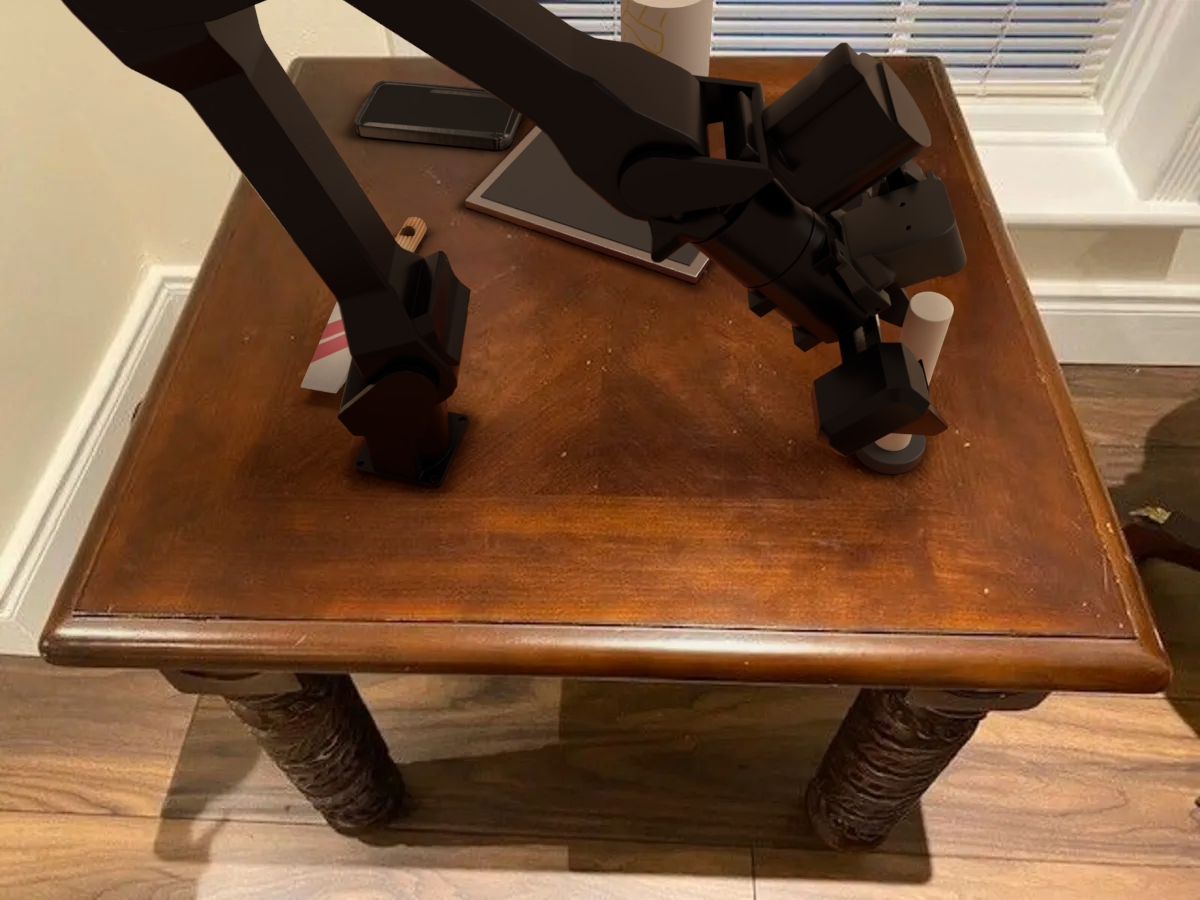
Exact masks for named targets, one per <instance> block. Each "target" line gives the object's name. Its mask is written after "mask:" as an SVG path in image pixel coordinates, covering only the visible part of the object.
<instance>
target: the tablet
mask: <svg viewBox="0 0 1200 900" xmlns="http://www.w3.org/2000/svg"><path fill="white" fill-rule="evenodd" d="M464 204H465V207H466V208H467V209H470V210H473V211H476V212H480V213H482V214H485V215H488V216H491V217H494V218H497V219H500V220H503V221H506V222H509V223H512V224H515V225H517V226H520V227H524V228H527V229H530V230H533V231H535V232H539V233H541V234H545V235H547V236H551V237H553V238H556V239H560V240H563V241H566V242H569V243H571V244H574V245H577V246H581V247H584V248H586V249H589V250H593V251H596V252H599V253H600V254H601V253H602V254H604V255H608V256H610V257H614V258H616V259H620V260H623V261H625V262H628V263H631V264H634V265H638V266H640V267H643V268H646V269H649V270H653V271H655V272H657V273H661V274H663V275H667V276H669V277H673V278H675V279H679V280H682V281H684V282H688V283H691V284H694V285H696V284H697V282H698V281H699V280H700V278H701V277H702V275H703V273H704V272H705V271H706V270H707V268H708V266H709V265H710V263H711V262H712V260H710V259H709V258H708V257H707V256H705V255H704V254H703V253H702V252H700V251H699V250H698V249H697V248H695V247H694V246H693V245H692V244H690V243H687V244H685V245H684V246H682V247H681V248H680V249H678V250H677V251H676V252H674V253H673V254H672V255H670V256H669V257H668V258H666V259H665V260H664V261H663V262H661V263H655V262H653V261H652V259H651V236H650V226H649V224H648V222H645V221H640V220H635V219H632V218H630V217H627V216H625V215H622V214H621V213H619V212H618V211H616V210H615V209H614V208H612V207H611V206H610V205H609V204H608V203H607V202H605V201H604V200H603V199H602V198H601V197H600V196H599V195H597V194H596V193H595V192H594V191H593V190H592V189H591V188H590V187H588V186H587V185H586V184H585V183H584V182H583V181H582V180H580V179H579V178H578V177H577V176H576V175H575V174H574V173H573V172H572V170H571V169H570V168H569V166H568V165H567V163H566V162H565V160H564V159H563V158H562V156H561V155H560V153H559V152H558V151H557V149H556V148H555V146H554V145H553V143H552V142H551V141H550V139H549V138H548V136H547V135H546V134H545V133H544V132H543V131H542V130H541V129H539V128H538V127H537V126H536V125H535V126H534V127H533V128H532V129H531V130H530V131H529V132H528V134H527V135H526V136H524V137H523V139H522V140H521V141H519V143H518V144H517V145H516V146H515V147H514V148H513V149H512V150H511V151H510V152H509V153H508V155H506V156H505V158H503V160H502V161H501V162H500V163H499V164H498V165H497V166H496V167H495V168H494V169H493V170H492V171H491V172H490V173H489V175H487V176H486V178H485V179H484V180H483V181H481V183H480V184H479V185H478V186H476V188H475V189H474V190H473V191H472V192H471V193H470V195H468V196H467V198H465V200H464Z"/></svg>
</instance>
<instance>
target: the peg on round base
mask: <svg viewBox="0 0 1200 900" xmlns="http://www.w3.org/2000/svg"><path fill="white" fill-rule="evenodd" d="M910 299H911V300H910V302H909V306H908V309H907V313H906V316H905V320H904V323H903V326H902V328H901V330H900V334H899V337H898V340H897V342H901V343H903V344H904V345H905V346H906V347H907V348H908V349H910V350H911V351H912V352H913V354H914V356H915V357H916V359H917V361H918V360H920V359H922V361H923V365H924V369H925V373H926V377H927V382H928V386H929V387H930V383H931V379H932V377H933V375H934V371H935V368H936V366H937V362H938V359H939V356H940V353H941V350H942V347H943V344H944V341H945V338H946V336H947V332H948V330H949V326H950V323H951V321H952V317H953V315H954V310H955V309H954V304H953V303H952V301H951V300H950V299H949V298H948V297H946V296H945V295H943V294H941V293H938V292H934V291H922V292H921V291H920V292H918V293H916V294H914V295H913V296H912V297H910ZM926 438H927V437H926V436H925V435H909V434H893V433H890V434H889V435H887V436H885V437H883V438H881V439H879V440H877V441H875V442H874V443H872V444H870V445H868V446H866V447H864V448H862V449H860V450H858V451H857V452H855V453H854V454H855V456H856V457H857V458H858V460H859V461H860V462H861V463H862V464H863V465H865V466H866V467H867V468H869V469H871V470H872V471H874V472H878V473H881V474H886V475H900V474H904V473H907V472H909V471H911V470H913V469H914V468H916V467H917V466H918V465H919V464H920V462H921V460H922V458H923V455H924V452H925V450H926V445H927V439H926Z"/></svg>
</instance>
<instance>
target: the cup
mask: <svg viewBox="0 0 1200 900" xmlns="http://www.w3.org/2000/svg"><path fill="white" fill-rule="evenodd" d="M619 5H620V41H621V42H628V43H632V44H635V45H637V46H639V47H641V48H643V49H645V50H647V51H649V52H651V53H653V54H655V55H657V56H659V57H661V58H664V59H666V60H668V61H670V62H672V63H674V64H676V65H678V66H680V67H682V68H683V69H685V70H687V71H688V72H690V73H691V74H692V75H698V76H707V77H709V74H710V73H709V72H710V58H711V44H712V43H711V40H712V27H713V11H714V10H713V9H714V0H620V3H619Z"/></svg>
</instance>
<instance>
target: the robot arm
mask: <svg viewBox="0 0 1200 900" xmlns="http://www.w3.org/2000/svg"><path fill="white" fill-rule="evenodd" d="M266 1H267V0H60V2H61V3H62V5H64V6H65V7H66V8H67V10H68V11H69V12H70V13H71V14H72V15H73V17H75V19H77V20H78V21H79V22H80V23H81V24H82V25H83V26H84V27H85V28H86V29H87V31H89V32H90V33H91V34H92V35H93V36H94V38H96V39H97V40H98V41H99V42H100V43H101V44H102V45H103V46H104V47H105V48H106V49H107V50H108V51H109V52H110V53H111V54H112V55H113V56H114V57H115V58H116V59H117V60H118V61H120V63H121V64H123V65H124V66H125V67H127V68H128V69H130V70H131V71H134V72H135V73H138V74H140V75H141V76H144V77H146V78H148V79H150V80H152V81H154V82H156V83H158V84H160V85H163V86H164V87H166V88H167V89H168V88H169V89H170V90H172V91H174V92H176V93H178V94H179V95H181V97H182V98H184V99H185V100H186V102H188V104H189V105H190V107H191V108H192V109H193V110H194V112H195V113H196V114H197V116H198V117H199V118H200V119H201V121H202V122H203V124H204V125H205V126H206V128H207V129H208V130H209V132H210V133H211V134H212V136H213V137H214V139H215V140H216V141H217V142H218V144H219V145H220V146H221V148H222V149H223V151H225V153H226V154H227V155H228V157H229V158H230V159H231V161H232V162H233V164H234V165H235V166H236V167H237V169H238V170H239V172H240V173H241V174H242V175H243V177H244V178H245V179H246V181H247V183H248V184H249V185H250V186H251V187H252V189H253V190H254V191H255V193H256V194H257V195H258V196H259V199H261V201H262V202H263V204H264V205H265V206H266V207H267V209H268V210H269V211H270V212H271V214H272V216H274V218H275V219H276V221H277V222H278V223H279V225H280V227H281V228H282V229H283V230H284V231H285V232H286V234H287V235H288V237H289V238H290V239H291V241H292V242H293V243H294V245H295V246H296V247H297V249H298V250H299V251H300V253H301V254H302V255H303V256H304V259H306V261H307V262H308V263H309V265H310V266H311V267H312V269H313V270H314V271H315V273H317V275H318V276H319V278H320V279H321V281H322V282H323V283H324V284H325V286H326V287H327V288H328V290H329V291H330V293H331V294H332V295H333V297H334V298H335V301H336V303H338V305H339V309H340V314H341V318H342V322H343V326H344V331H345V335H346V339H347V344H348V348H349V352H350V355H351V357H352V358H351V362H350V367H349V371H348V375H347V379H346V382H345V383H344V384H345V385H344V388H343V392H342V397H341V401H340V405H339V410H338V414H337V419H338V421H339V422H340V423H341V424H342V425H343V426H344V427H345V428H346V430H347V431H348V432H349V433H350V434H351V435H352V436H353V437H363V439H364V443H363V444H362V447H361V448H360V450H359V453H357V456H356V458H355V460H354V462H353V468H354V471H355V472H356V473H359V474H362V475H366V476H367V475H368V476H372V477H377V478H382V479H386V480H392V481H395V482H396V481H397V482H401V483H406V484H411V485H415V486H420V487H425V488H430V489H439V488H440V487H442V485H444V482H445V480H446V478H447V475H448V473H449V470H450V469H451V467H452V464H453V461H454V459H455V457H456V455H457V453H458V450H459V448H460V446H461V444H462V441H463V439H464V437H465V435H466V433H467V431H468V428H469V426H470V418H469V416H468V415H467V414H464V413H458V412H454V411H449V410H448V402H447V400H448V399H449V398H450V397H452V396H453V395H454V393H455V391H456V390H457V388H458V384H459V383H458V382H459V377H460V371H461V363H462V357H463V350H464V342H465V336H466V329H467V322H468V315H469V305H470V298H471V292H472V291H471V288H469V287H468V286H467V285H465V284H464V283H463V282H462V281H461V280H460V279H459V278H458V277H457V276H456V274H455V272H454V270H453V268H452V266H451V263H450V261H449V258H448V256H447V254H446V253H445V251H444V250H438V251H435V252H433V253H431V254H429V255H427V256H422V255H420V254H418V253H416V252H414V253H413V252H411V251H409V250H406V249H404V248H402V247H401V246H400V245H399V244H398V243H397V242H396V240H395V237H394V236H393V234H392V233H391V231H390V229H389V228H388V227H387V225H386V222H385V221H384V219H382V217H381V216H380V214H379V212H378V211H377V210H376V208H375V206H374V204H372V202H371V200H370V199H369V197H368V196H367V194H366V193H365V191H364V190H363V188H362V186H361V185H360V184H359V182H358V181H357V179H356V177H355V176H354V174H353V173H352V171H351V169H350V168H349V167H348V165H347V164H346V162H345V160H344V159H343V157H342V156H341V154H340V152H339V151H338V150H337V148H336V147H335V145H334V144H333V142H332V141H331V139H330V137H329V136H328V134H327V133H326V132H325V130H324V128H323V127H322V125H321V124H320V123H319V120H318V119H317V117H316V116H315V115H314V113H313V111H312V110H311V108H310V107H309V105H308V104H307V102H306V100H305V99H304V98H303V96H302V94H301V93H300V92H299V90H298V88H297V87H296V85H295V84H294V82H293V81H292V79H291V78H290V77H289V75H288V73H287V72H286V70H285V69H284V67H283V65H282V64H281V63H280V61H279V60H278V58H277V56H276V55H275V53H274V52H273V50H272V49H271V47H270V46H269V44H268V43H267V41H266V39H265V36H264V34H263V32H262V29H261V25H260V23H259V22H260V21H259V17H258V14H257V9H256V5H259V4H262V3H264V2H266ZM342 1H343V2H345V3H346V4H348V5H350V6H351V7H352V8H354V9H356V10H358V11H359V12H361V13H362V14H364V15H366V16H367V17H368V18H370V19H371V20H373V21H375V22H376V23H378V24H379V25H381V26H383V27H384V28H386V29H387V30H389V31H390V32H391V33H393V34H395V35H396V36H398V37H400V38H401V39H402V40H404V41H406V42H408V43H409V44H410V45H412V46H414V47H416V48H417V49H419V50H421V51H422V52H423V53H425V54H426V55H428V56H430V57H432V59H434V60H435V61H437V62H439V63H440V64H442V65H443V66H445V67H447V68H448V69H449V70H451V71H453V72H455V73H456V74H457V75H459V76H460V77H463V78H464V79H465V80H467V81H469V82H470V83H472V84H473V85H475V86H477V88H480V89H483V90H484V91H486V92H487V93H489V94H491V95H492V96H494V97H495V98H497V99H498V100H500V101H502V102H503V103H505V104H506V105H508V106H509V107H511V108H513V109H514V110H516V111H517V112H519V113H520V114H522V115H523V116H524V117H525V118H526V119H528V120H529V121H530V122H531V123H533V124H534V125H535V126H537V127H538V128H539V129H541V130H542V131H543V132H544V133H545V134H546V135H547V136H548V138H549V139H550V141H551V142H552V143H553V145H554V146H555V148H556V149H557V151H558V152H559V153H560V155H561V156H562V158H563V159H564V160H565V162H566V163H567V165H568V166H569V168H570V169H571V170H572V172H573V173H574V174H575V175H576V176H577V177H578V178H579V179H580V180H582V181H583V182H584V183H585V184H586V185H587V186H588V187H590V188H591V189H592V190H593V191H594V192H595V193H596V194H597V195H599V196H600V197H601V198H602V199H603V200H604V201H605V202H607V203H608V204H609V205H610V206H611V207H612V208H614V209H615V210H616V211H618V212H619V213H621V214H622V215H625V216H627V217H630V218H632V219H635V220H640V221H645V222H648V224H649V226H650V236H651V259H652V261H653V262H655V263H661V262H663V261H664V260H665V259H666V258H668V257H669V256H670V255H672V254H673V253H674V252H676V251H677V250H678V249H680V248H681V247H682V246H684V245H685V244H687V243H690V244H692V245H693V246H694V247H695V248H697V249H698V250H699V251H700V252H702V253H703V254H704V255H705V256H707V257H708V258H709V259H710V260H711V262H713V263H714V264H715V265H716V266H718V267H719V268H720V269H721V270H723V271H724V272H725V273H727V274H728V275H729V276H730V277H732V278H733V279H734V280H735V281H737V282H738V283H739V284H740V285H741V286H743V287H744V288H745V289H746V291H747V299H748V300H747V301H748V310H750V311H751V312H752V313H753V314H755V316H757V317H759V318H760V319H761V318H763V317H765V316H766V315H767V314H769V313H771V312H772V311H774V312H775V313H776V314H778V315H779V316H780V317H781V318H782V319H784V320H785V321H787V322H788V323H789V324H790V325H791V331H792V338H793V345H794V346H796V347H797V348H798V349H799V350H800V351H802V352H803V353H807V352H808V351H810V350H811V349H813V348H815V347H817V346H819V345H820V344H822V343H824V344H825V345H829V344H830V345H831V344H835V343H838V346H839V353H840V357H841V363H840V364H839V365H836V366H835V367H834V368H831V369H830V370H829V371H827V372H825V373H823V374H822V375H820V376H818V377H817V378H815V379H814V380H813V381H812V387H811V391H810V399H811V400H810V401H811V408H812V414H813V421H814V427H815V434H816V440H817V441H818V442H819V443H820V444H822V445H824V446H825V447H826V448H828V449H829V450H831V451H832V452H834V453H835V454H836V455H839V456H842V457H843V458H844V457H845V458H847V457H849V456H851V455H853V454H856V453H855V452H857V451H858V450H860V449H862V448H864V447H866V446H868V445H870V444H872V443H874V442H875V441H877V440H879V439H881V438H883V437H885V436H887V435H889V434H890V433H893V434H909V435H925V437H935V436H937V435H940V434H942V433H944V432H946V431H947V430H948V429H949V425H948V422H947V421H946V419H945V418H944V417H943V415H942V414H941V413H940V411H939V410H938V409H937V407H936V406H935V405H934V404H933V403H932V401H931V399H930V396H931V392H930V391H931V390H930V385H929V386H928V382H927V377H926V373H925V369H924V365H923V361H922V359H920V360H918V361H917V359H916V357H915V356H914V354H913V352H912V351H911V350H910V349H908V348H907V347H906V346H905V345H904V344H903V343H901V342H898V341H884V337H883V332H882V327H881V322H880V320H881V321H884V322H886V323H888V324H890V325H893V326H896V327H898V328H901V329H902V326H903V323H904V320H905V316H906V313H907V309H908V306H909V302H910V300H911V297H910V295H909V293H908V292H907V290H906V288H907V287H912V286H914V285H917V284H921V283H923V282H926V281H930V280H932V279H933V280H934V279H935V278H938V277H941V278H947V277H950V276H953V275H955V274H957V273H959V272H960V271H961V270H963V268H965V266H966V264H967V260H968V258H967V255H966V252H965V248H964V244H963V240H962V237H961V234H960V230H959V227H958V224H957V219H956V216H955V213H954V210H953V207H952V203H951V201H950V197H949V194H948V190H947V188H946V187H947V186H946V184H945V182H944V181H943V180H941V177H940V176H939V175H937V174H935V173H934V171H933V169H932V168H930V169H928V170H927V169H926V170H925V171H924V172H925V174H924V173H923V170H922V168H921V166H920V165H918V164H917V163H916V162H915V161H913V160H912V159H914V158H915V157H916V156H918V155H920V154H921V153H922V152H923V151H925V150H927V148H928V149H929V147H931V144H932V135H931V133H930V130H929V126H928V124H927V121H926V119H925V117H924V116H923V114H922V112H921V110H920V108H919V107H918V105H917V103H916V101H915V99H914V98H913V96H912V95H911V93H910V92H909V90H908V89H907V87H906V86H905V85H904V83H903V82H902V81H901V79H900V78H899V77H898V75H897V74H896V73H895V72H894V70H893V69H892V68H891V66H889V65H888V64H887V62H885V61H884V59H881V60H880V61H879V60H877V59H876V58H875V57H873V56H872V55H870V54H869V53H867V52H863V51H862V52H861V53H859V54H858V53H857V52H856V50H854V49H853V48H852V46H851V45H850V43H848V42H840V43H839V44H837V45H836V46H835V47H833V48H832V49H831V50H830V51H829V52H827V53H826V54H825V55H824V56H823V57H822V58H821V59H820V60H819V61H818V62H817V64H816V65H815V66H814V67H813V69H812V70H811V71H810V72H808V73H807V74H806V75H805V76H803V77H802V78H801V79H800V80H798V82H796V83H795V84H794V85H792V86H791V87H790V88H789V89H788V90H786V91H785V92H784V93H782V94H781V95H780V96H779V97H777V98H776V99H775V100H774V101H773V102H772V103H770V104H767V102H765V101H766V100H765V93H764V87H763V84H761V82H757V81H749V80H742V79H741V80H740V79H731V78H724V77H714V76H708V77H707V76H698V75H692V74H691V73H690V72H688V71H687V70H685V69H683V68H682V67H680V66H678V65H676V64H674V63H672V62H670V61H668V60H666V59H664V58H661V57H659V56H657V55H655V54H653V53H651V52H649V51H647V50H645V49H643V48H641V47H639V46H637V45H635V44H632V43H628V42H621V40H615V39H614V40H612V39H605V38H599V37H595V36H592V35H590V34H588V33H587V32H583V31H582V30H580V29H578V28H576V27H573V26H572V25H570V24H569V23H568V22H566V21H565V20H564V19H562V18H561V17H559V16H558V15H556V14H555V13H553V12H552V11H551V10H549V9H548V8H546V7H545V6H543V5H542V4H541V3H539V2H538V1H536V0H342ZM718 123H722V128H723V140H724V141H723V142H724V150H725V151H724V152H725V158H718V157H711V150H710V136H709V125H712V124H718ZM361 465H362V466H361Z"/></svg>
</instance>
